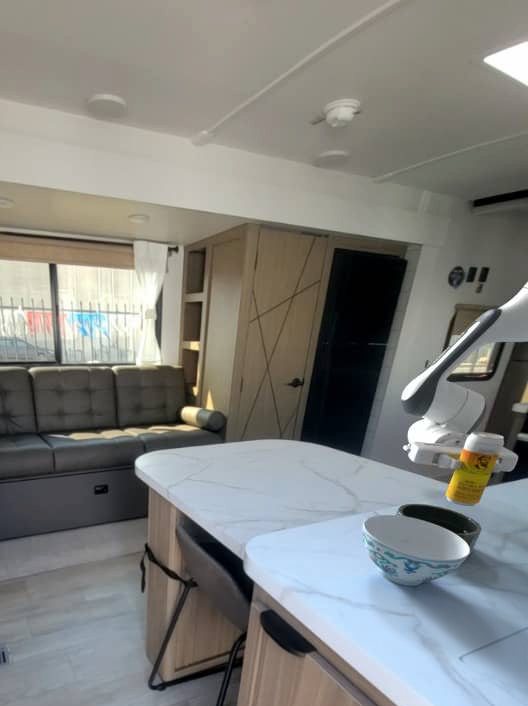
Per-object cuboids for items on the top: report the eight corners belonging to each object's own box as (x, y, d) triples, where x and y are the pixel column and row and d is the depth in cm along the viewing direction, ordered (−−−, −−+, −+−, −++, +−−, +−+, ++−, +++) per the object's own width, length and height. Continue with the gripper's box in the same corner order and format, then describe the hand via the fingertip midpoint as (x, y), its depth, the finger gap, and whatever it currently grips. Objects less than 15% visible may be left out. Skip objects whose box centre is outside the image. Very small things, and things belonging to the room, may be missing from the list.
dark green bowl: (445, 530, 85) (455, 506, 83) (486, 564, 73) (499, 538, 71) (379, 524, 87) (387, 501, 84) (408, 557, 75) (418, 531, 72)
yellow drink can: (451, 505, 88) (477, 437, 81) (439, 494, 93) (464, 430, 86) (483, 508, 86) (512, 440, 80) (469, 497, 92) (496, 432, 85)
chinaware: (378, 600, 63) (393, 557, 59) (337, 550, 76) (348, 513, 73) (474, 603, 63) (495, 561, 59) (416, 553, 76) (430, 516, 73)
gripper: (404, 432, 98) (428, 448, 86) (499, 439, 94) (538, 457, 82) (396, 457, 101) (418, 476, 88) (489, 465, 97) (525, 486, 85)
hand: (477, 467), depth 85 cm, fingers closed on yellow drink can, 6 cm apart
